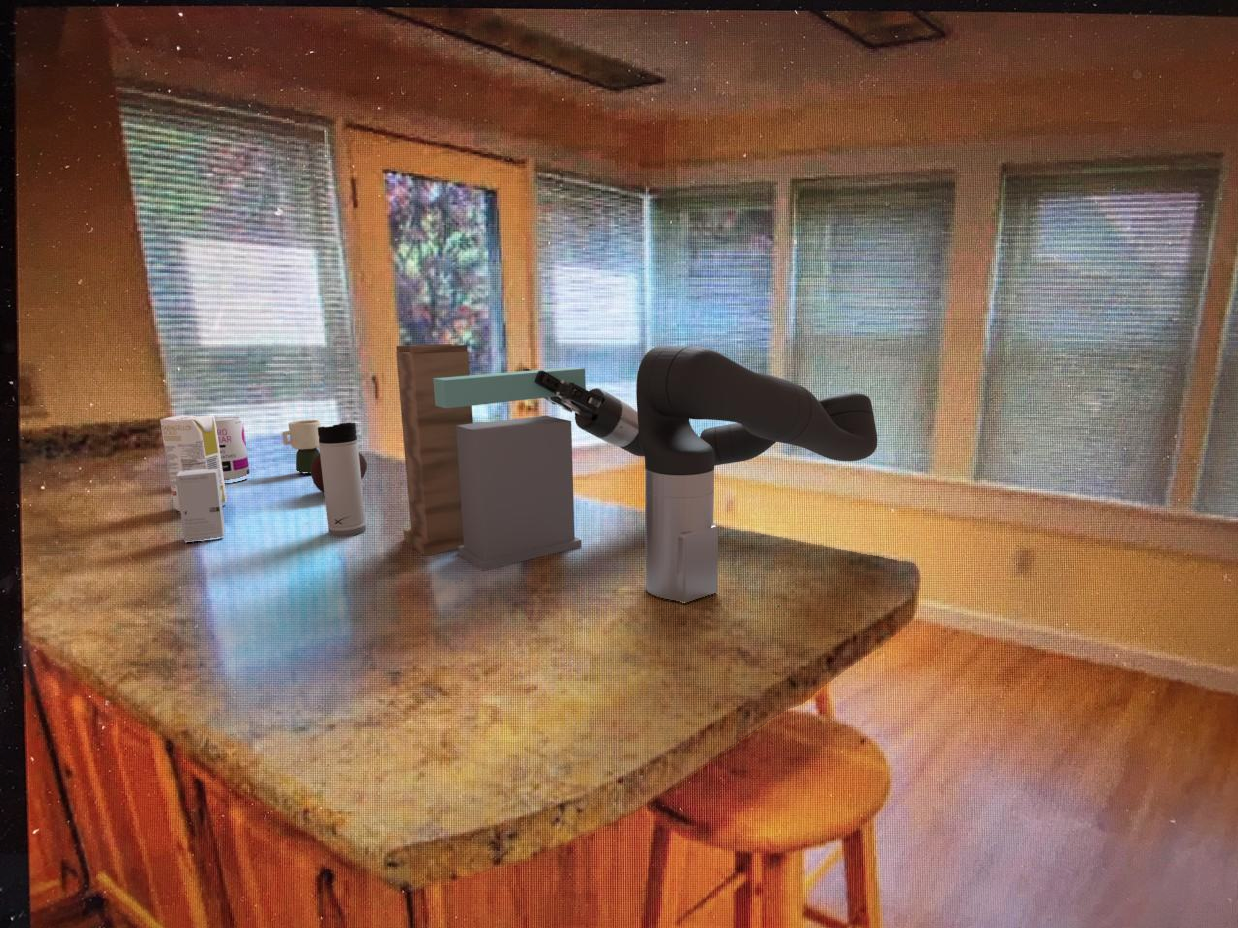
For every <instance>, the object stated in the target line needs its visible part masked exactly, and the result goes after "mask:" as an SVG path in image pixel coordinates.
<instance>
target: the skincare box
mask: <svg viewBox="0 0 1238 928" xmlns="http://www.w3.org/2000/svg"><path fill="white" fill-rule="evenodd" d="M176 483H177V490H178V498H179V505H180V512H179V513H180V518H181V528H182V533H183V534H182V535H183V542H184V541H192V540H204V539H210V538H217V537H222V536H223V535H224V536H225V534H224V532H225V533H226V526H225V518H224V510H223V507H222V500H221V492H220V483H219V475H218V469H217V468H214V469H198V470H187V471H179V472H178V474H177V475H176Z"/></svg>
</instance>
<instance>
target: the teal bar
mask: <svg viewBox="0 0 1238 928" xmlns="http://www.w3.org/2000/svg"><path fill="white" fill-rule="evenodd" d="M530 370H531V371H523V370H521V371H507V372H497V373H486V374H485V373H484V374H473V375H471V374H470V375H469V376H457V377H445V378H433V382H434V394H435V406H439V407H443V408H454V407H464V406H472V407H473V406H481V405H490V404H499V403H509V402H517V401H527V400H535V399H542V398H543V399H545V398H546V397H555V396H556V395H555V394H554V393H555V392H554V393H553V392H551V391H549V390H547V389H545V388H543V387H541V386H540V385H538V384H536V383H535V378H536V376H537V374H538V371H540V370H541V371H545V372H547V373H548V374H550V375H552V376H554V377H555V378H557V379H559V381H560V380H565V382H567V383H568V384H569V382H571V383H575V384H576V385H578V386H580V387H582V388H584V389H586V390H587V386H586V383H587V381H586V368H584V367H575V366H574V367H572V366H570V367H568V366H567V367H559V368H558V367H557V368H546V369H534V370H532V369H530ZM575 391H578V390H575ZM578 392H580V391H578ZM563 395H564V394H563Z"/></svg>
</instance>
